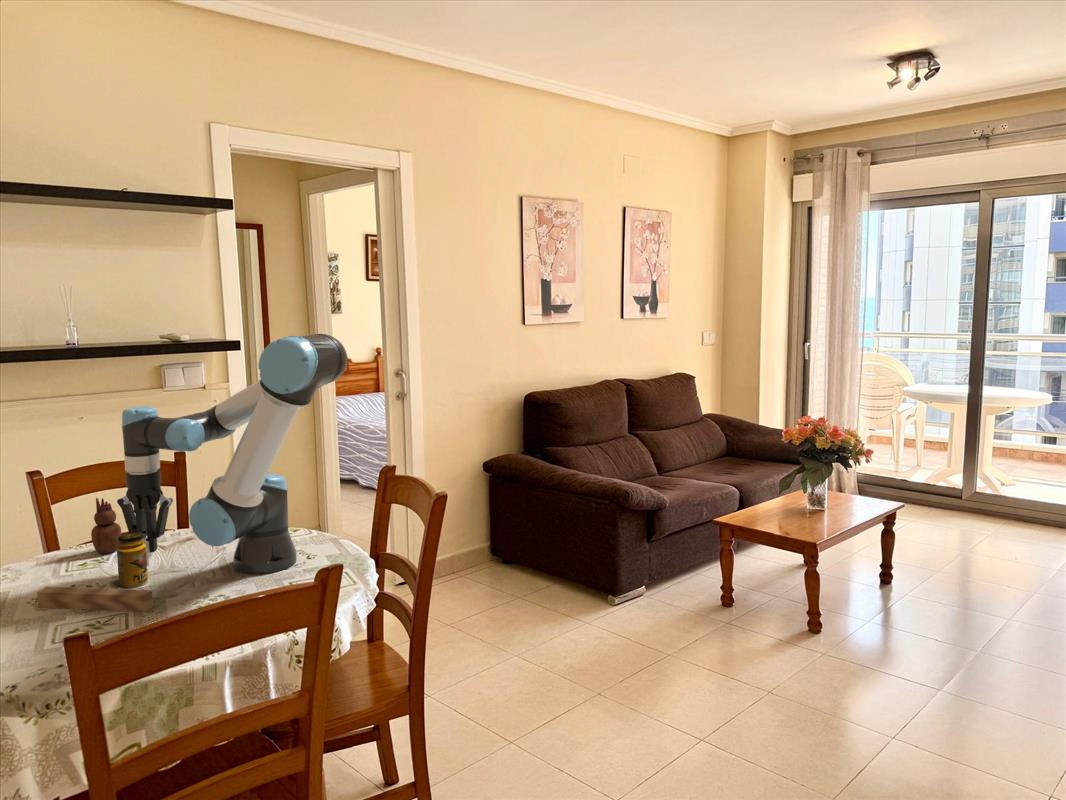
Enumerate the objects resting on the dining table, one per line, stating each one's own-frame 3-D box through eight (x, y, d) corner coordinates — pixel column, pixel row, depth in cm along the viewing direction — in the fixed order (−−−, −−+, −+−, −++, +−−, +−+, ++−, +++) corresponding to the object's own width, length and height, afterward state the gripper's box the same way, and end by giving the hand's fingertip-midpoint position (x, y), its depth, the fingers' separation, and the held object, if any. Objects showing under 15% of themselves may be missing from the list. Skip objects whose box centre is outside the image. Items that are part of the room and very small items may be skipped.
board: (153, 605, 165) (152, 590, 164) (145, 611, 162) (144, 596, 161) (47, 601, 166) (46, 586, 165) (38, 607, 163) (36, 592, 162)
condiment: (151, 585, 175) (148, 536, 174) (110, 593, 171) (106, 543, 169) (147, 575, 181) (144, 528, 180) (107, 582, 177) (103, 534, 175)
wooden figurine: (95, 557, 192) (91, 501, 190) (90, 551, 197) (86, 496, 194) (124, 551, 197) (120, 496, 195) (119, 545, 201) (115, 491, 199)
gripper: (177, 467, 184) (182, 559, 188) (126, 466, 185) (132, 557, 188) (160, 475, 177) (166, 570, 180) (107, 473, 177) (114, 568, 181)
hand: (149, 564), depth 184 cm, fingers closed
